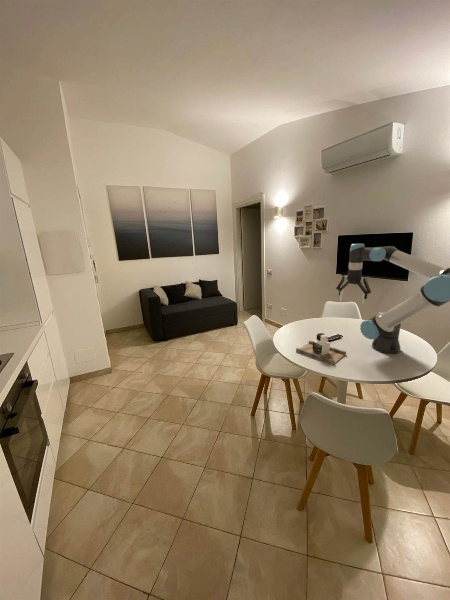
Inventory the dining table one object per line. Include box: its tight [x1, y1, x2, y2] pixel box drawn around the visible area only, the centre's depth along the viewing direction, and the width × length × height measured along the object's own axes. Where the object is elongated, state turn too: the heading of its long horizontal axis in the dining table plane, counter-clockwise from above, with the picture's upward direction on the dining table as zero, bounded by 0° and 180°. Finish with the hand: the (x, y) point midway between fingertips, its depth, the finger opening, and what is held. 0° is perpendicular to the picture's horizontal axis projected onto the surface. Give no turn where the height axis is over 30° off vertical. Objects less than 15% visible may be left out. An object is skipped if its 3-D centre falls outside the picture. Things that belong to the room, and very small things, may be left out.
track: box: [295, 340, 347, 366], centre depth 150 cm, size 24×17×2 cm
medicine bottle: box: [312, 332, 331, 356], centre depth 149 cm, size 7×7×12 cm
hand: (351, 302), depth 156 cm, fingers open, 13 cm apart
